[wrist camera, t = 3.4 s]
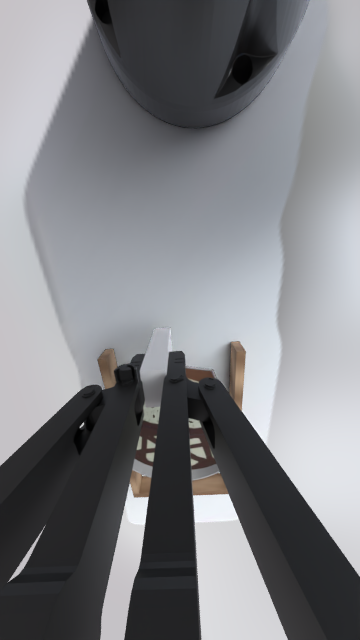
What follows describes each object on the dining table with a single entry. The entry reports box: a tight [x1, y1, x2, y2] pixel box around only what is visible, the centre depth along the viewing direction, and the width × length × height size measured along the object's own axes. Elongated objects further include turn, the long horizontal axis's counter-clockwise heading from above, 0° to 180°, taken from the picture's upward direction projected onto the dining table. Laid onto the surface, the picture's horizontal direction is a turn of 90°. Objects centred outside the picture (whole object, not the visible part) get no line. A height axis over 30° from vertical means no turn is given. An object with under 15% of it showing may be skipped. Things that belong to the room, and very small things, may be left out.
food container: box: [132, 366, 220, 480], centre depth 20 cm, size 12×6×10 cm, turn 82°
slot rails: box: [98, 342, 246, 497], centre depth 25 cm, size 27×17×4 cm, turn 4°
